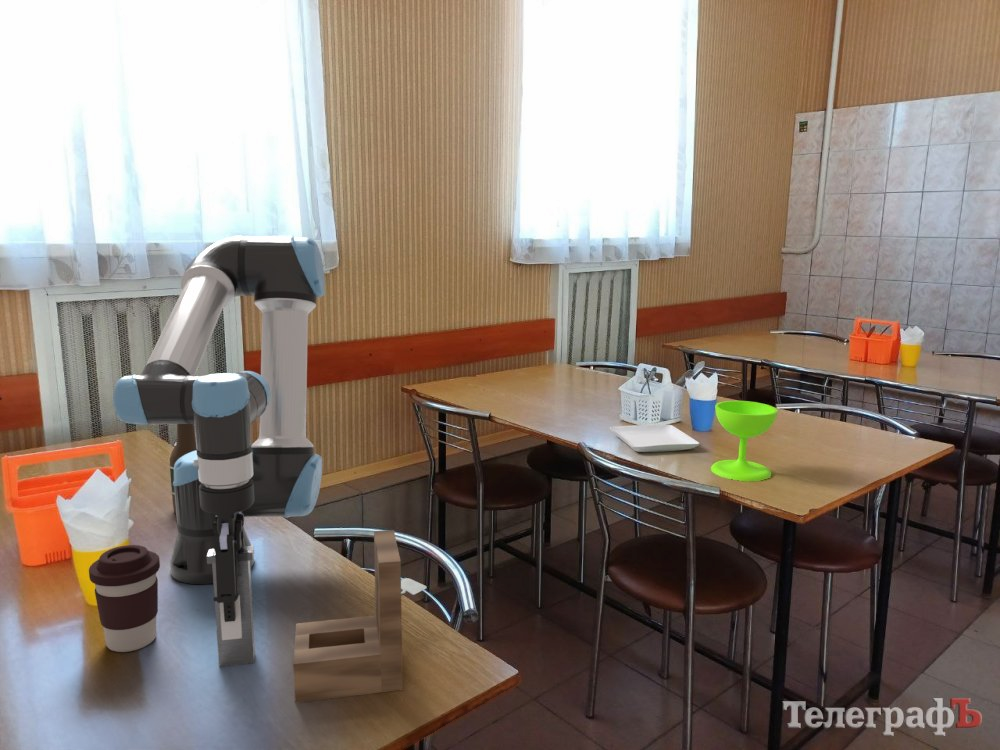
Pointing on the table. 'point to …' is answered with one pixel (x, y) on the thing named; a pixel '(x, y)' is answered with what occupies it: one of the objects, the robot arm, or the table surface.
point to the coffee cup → (127, 596)
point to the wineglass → (743, 437)
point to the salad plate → (654, 438)
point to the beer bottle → (182, 449)
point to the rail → (245, 646)
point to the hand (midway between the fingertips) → (235, 623)
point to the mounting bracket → (411, 586)
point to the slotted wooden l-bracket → (355, 640)
